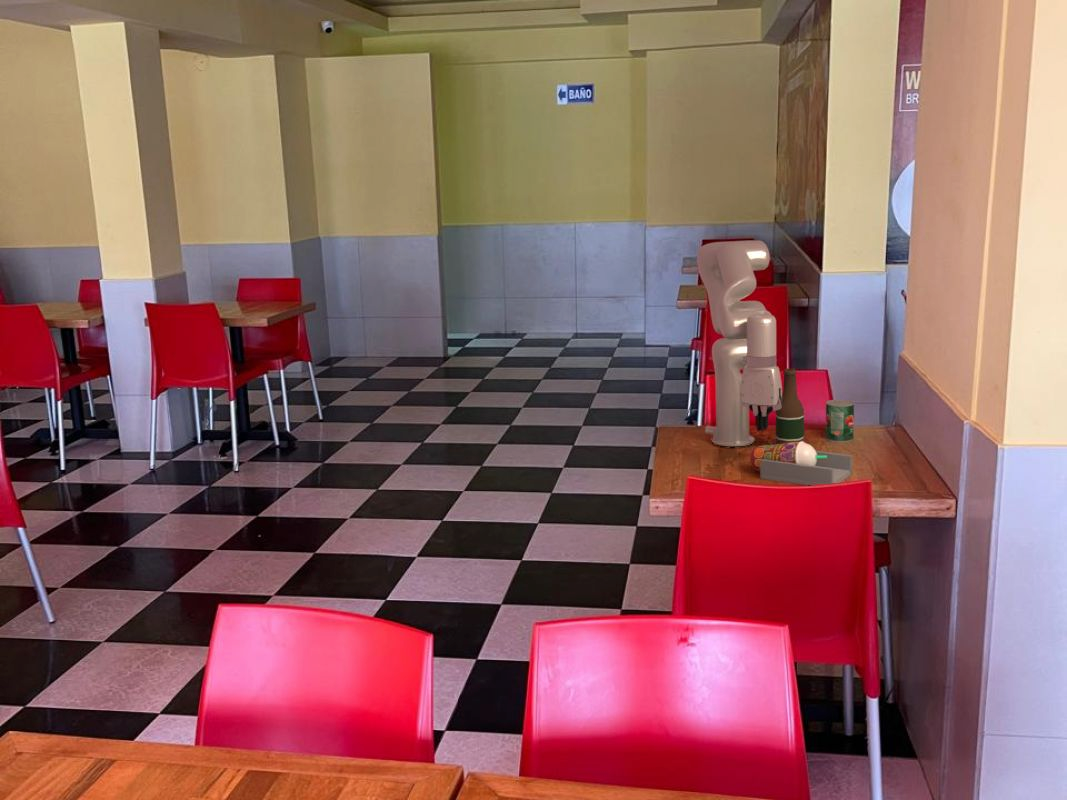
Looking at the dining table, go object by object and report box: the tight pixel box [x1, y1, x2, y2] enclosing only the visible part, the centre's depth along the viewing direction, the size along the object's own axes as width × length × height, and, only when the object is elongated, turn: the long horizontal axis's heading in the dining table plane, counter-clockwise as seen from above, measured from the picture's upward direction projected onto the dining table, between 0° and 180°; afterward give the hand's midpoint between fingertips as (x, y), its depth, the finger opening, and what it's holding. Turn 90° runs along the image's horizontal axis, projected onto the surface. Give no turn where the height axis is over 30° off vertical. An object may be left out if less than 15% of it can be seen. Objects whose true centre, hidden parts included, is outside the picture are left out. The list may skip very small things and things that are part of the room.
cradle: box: [759, 450, 853, 486], centre depth 263 cm, size 19×14×5 cm
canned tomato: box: [825, 399, 855, 443], centre depth 295 cm, size 8×8×11 cm
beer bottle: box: [775, 368, 805, 444], centre depth 283 cm, size 8×8×24 cm
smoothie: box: [750, 441, 827, 472], centre depth 263 cm, size 8×8×20 cm
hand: (762, 429), depth 268 cm, fingers closed
